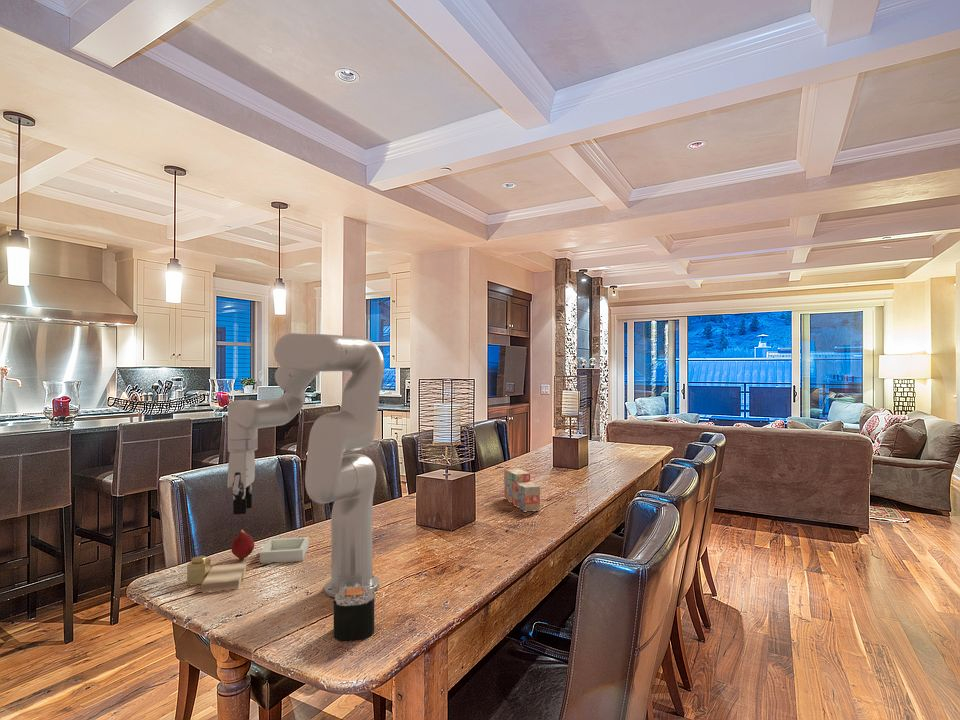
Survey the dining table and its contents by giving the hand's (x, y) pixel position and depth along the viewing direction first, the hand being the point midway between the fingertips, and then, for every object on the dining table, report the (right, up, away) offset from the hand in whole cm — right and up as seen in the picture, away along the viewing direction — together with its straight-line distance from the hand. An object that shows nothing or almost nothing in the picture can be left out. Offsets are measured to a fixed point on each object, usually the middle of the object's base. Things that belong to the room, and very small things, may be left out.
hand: (242, 510), depth 143 cm
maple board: (+2, -14, -15) cm, 20 cm away
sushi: (+41, -13, -40) cm, 58 cm away
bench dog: (-4, -13, -15) cm, 20 cm away
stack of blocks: (+81, -14, +55) cm, 99 cm away
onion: (0, -14, 0) cm, 14 cm away
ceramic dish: (+11, -13, +3) cm, 17 cm away
